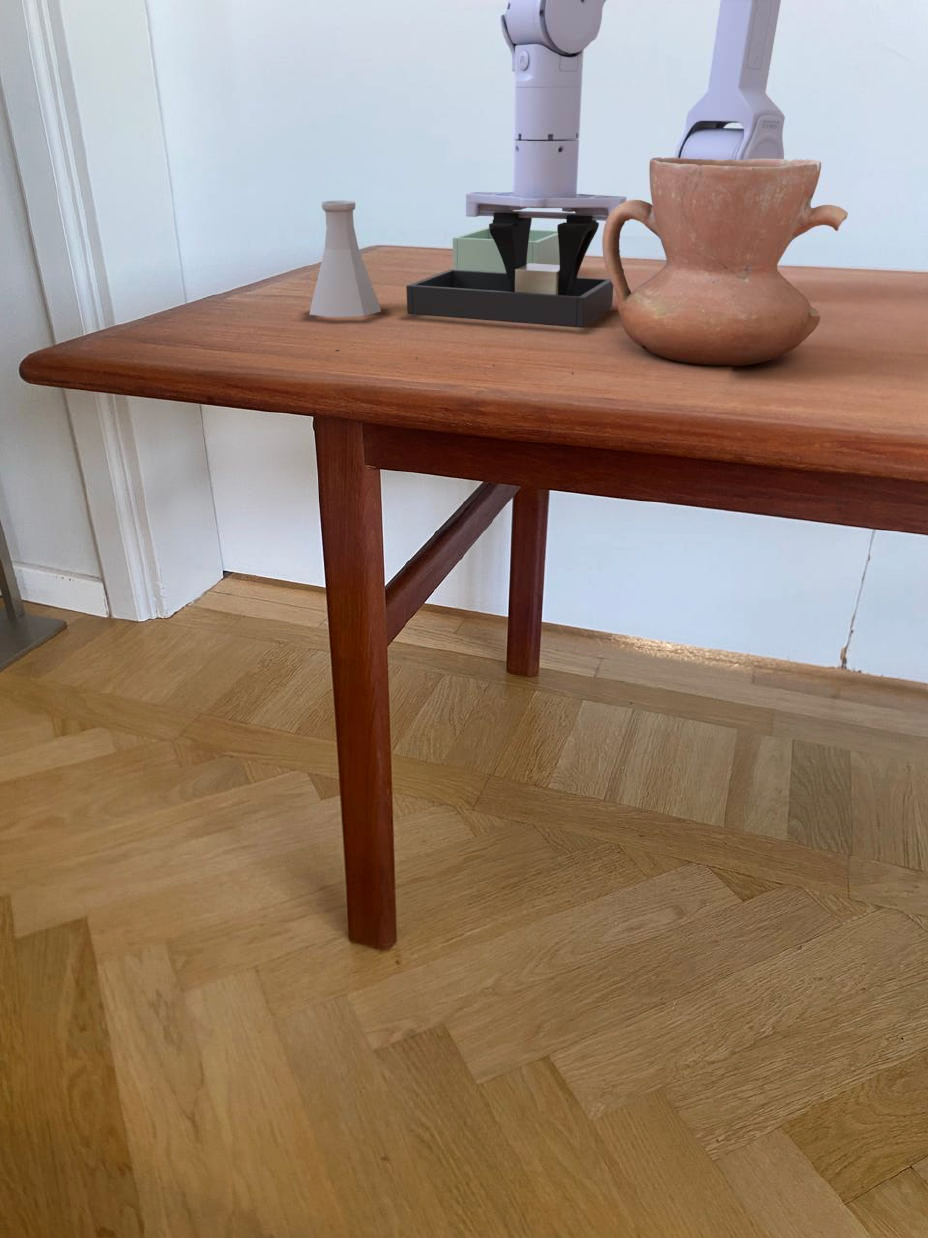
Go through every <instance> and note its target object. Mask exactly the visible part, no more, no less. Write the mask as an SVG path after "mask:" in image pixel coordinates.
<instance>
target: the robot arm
mask: <svg viewBox="0 0 928 1238" xmlns="http://www.w3.org/2000/svg"><path fill="white" fill-rule="evenodd" d="M606 1H607V0H508V2H507V4H506V5H507V6H506V10H505V13H503V14H501V15H500V26H501V31H502V36H503V38H504V40H505V43H506V45H507V46H508V48H509V50H510V54H511V72H514V103H513V104H514V105H513V106H514V108H513V139H514V140H513V157H512V158H513V161H512V191H511V192H510V191H509V192H508V191H501V192H500V191H499V192H498V191H494V192H493V191H492V192H491V191H490V192H489V191H486V192H485V191H473V192H469V193H466V194H465V216H466V217H469V218H470V217H473V218H474V217H475V218H476V217H492V218H493V219H492V222H491V223H489V224H488V228H489V231H490V234H491V236H492V238H493V239H494V242H495V244H496V246H497V248H498V250H499V253H500V255H501V258H502V261H503V264H504V267H505V270H506V274H507V278H508V282H509V287H510V292H515V270H516V269H518V268H520V267H523V266H525V265H527V251H528V241H529V234H530V230H531V227H532V221H533V219H547V220H548V219H551V220H566V221H564V222H561V223H558V224H557V227H556V228H557V229H556V231H558V241H559V260H560V270H559V283H558V295H567V296H572V294H573V290H574V286H575V282H576V278H577V277H578V275H579V272H580V270H581V267H582V264H583V261H584V259H585V256H586V253H587V252H588V249H589V248H590V245H591V243H592V241H593V239H594V237H595V236H596V234H597V231H598V229H599V226H600V223H599V222H598V221H600V222H601V221H602V222H603V221H604V222H606V220H607V218H608V216H609V214H610V213H611V212H612V210H613V209H614V208H616V207H617V206H618V205H620V204H622V203H624V202H626V201H627V199H628V198H627V196H622V195H621V196H619V195H603V194H602V195H601V194H587V193H577V192H578V177H579V176H578V175H579V156H580V137H581V136H580V135H581V134H580V133H581V113H582V112H581V111H582V93H583V92H582V91H583V74H584V73H583V71H584V54H585V53H584V52H585V49H586V48H587V47H588V46H589V45H590V44H591V43H592V42H593V41H595V40H596V39H597V37H598V35H599V32H600V30H601V25H602V19H603V9H604V5H605V3H606ZM781 2H782V0H720V2H719V9H718V14H717V15H718V16H717V22H716V23H717V24H716V30H715V36H714V37H715V39H714V42H713V43H714V44H713V51H712V57H711V58H712V59H711V65H710V72H709V78H708V86H707V90H706V92H705V93H704V94H703V95H702V97H701V98H699V100H697V102H696V103H695V104H694V105H693V106H692V107H691V108H690V109H689V111H688V112H687V114H686V117H685V126H684V129H683V133H682V136H681V138H680V139H679V142H678V143H677V146H676V149H675V152H674V157H673V158H687V159H713V160H729V159H732V160H736V161H738V160H747V159H785V150H784V149H785V148H784V141H783V132H784V125H785V124H784V123H785V118H786V117H785V115H784V113H783V111H782V110H781V109H780V108H779V107H778V105H776V103H775V102H774V101H773V100H772V99H771V97H770V96H769V95H768V94H767V85H768V79H769V75H770V68H771V63H772V54H773V49H774V44H775V38H776V32H777V25H778V20H779V14H780V7H781ZM729 124H740V125H741V127H742V128H739V127H738V128H736V127H726V126H727V125H729ZM525 209H561V211H562V212H561V211H560V212H559V211H557V212H556V211H533V210H525Z"/></svg>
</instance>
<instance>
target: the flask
mask: <svg viewBox="0 0 928 1238" xmlns="http://www.w3.org/2000/svg"><path fill="white" fill-rule="evenodd" d="M321 208H322V211H324V214H325V228H326V230H325V240H324V249H323V254H322V258H321V264H320V267H319V271H318V277H317V281H316V283H315V284H316V285H315V288H314V292H313V295H312V296H313V297H312V300H311V305H310V309H309V316H318V317H327V318H361V317H363V318H364V317H367V316H371V315H373V314H376V313H380V312H382V308H381V305H380V302H379V299H378V296H377V294H376V292H375V289H374V286H373V283H372V281H371V279H370V276H369V273H368V271H367V267H366V265H365V262H364V259H363V256H362V253H361V250H360V248H359V244H358V239H357V236H356V235H357V234H356V230H355V225H354V224H355V223H354V210H356V201H354V200H326V201H322V202H321Z"/></svg>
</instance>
